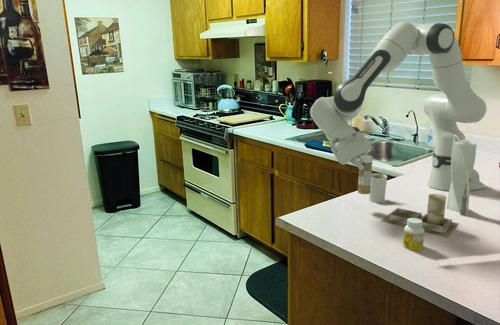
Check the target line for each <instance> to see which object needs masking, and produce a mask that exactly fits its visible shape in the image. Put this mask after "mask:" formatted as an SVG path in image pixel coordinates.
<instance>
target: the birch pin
mask: <svg viewBox="0 0 500 325" xmlns="http://www.w3.org/2000/svg"><path fill="white" fill-rule="evenodd" d="M446 201H447V196H445V195H444V194H441V193H430V194H429V195H428V201H427V211H426V214H427V220H426V223H429V224H433V225H438V226H442V227H443V223H444V218H445V212H446V205H447V202H446Z"/></svg>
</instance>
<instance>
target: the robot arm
mask: <svg viewBox="0 0 500 325" xmlns="http://www.w3.org/2000/svg"><path fill="white" fill-rule="evenodd" d="M408 55H419V56H421V55H423V56H424V55H429V60H430V68H431V75H432V78H433V80H432V81H433V84H434V86H435V87H436V88H437V89H439V90H440V91H441V92H442V93H441V92H440V93H434V94H430V95H429V96H428V97H426V98H425V101H424V104H423V112H424V113H425V115H426V116H427V117H428V118H429V120H430V121H431V123H432V126H433V129H434V137H435V140H434V152H433V153H432V167H431V172H430V176H429V178H428V181H427V186H428V187H431V188H433V189H435V190H441V191H445V192H447V191H448V192H449V190H450V185H451V181H452V179H451V155H452V147H453V136H454V135H456V136H458V138H459V139H460V140H466V135H465V134H464V133H463V132H462V131H461V130H460V129H459V127H458V125H457V123H461V124H470V123H471V124H472V123H473V124H475V123H478V122H480V121H481V120H483V119H484V117H485V115H486V113H487V103H486V102H485V100H484V99H483V98H482V97H480V96H478V94H476V93H475V92H474V90H473V89H472V87H471V86H470V84H469V83H468V80H467V77H466V75H465V70H464V63H463V55H462V51H461V48H460V45H459V41H458V39H457V36H455V33H454V30H453V29H452V27H451V26H450V25H449V24H446V23H443V22H437V23H422V24H418V25H414V24H412V23H411V22H409V21H400V22H398V23H396V24H395V25H394V26H393V27H392V28H390V29H389V30H388V31H387V32H386V33H385V35H384V36H383V37H382V38H380V40H379V41H378V43H377V44H376V45H375V47H374V48H373V50H372V51H371V53H370V55H369V57H368V58H367V60H366V61H365V62H364V63H363V64H362V65H361V67H360V68H359V69H358V70H357V71H356V73H355V74H354V75H353V76H352V77H350V78H349V79H348V80H345V81H344V82H342V83H340V84H339V85H337V87H336V88H335V90H334V93H333V96H328V97H325V96H321V97H319V98H317V99H316V100H314V102H313V104H312V105H311V107H310V110H309V114H310V117H311V119H312V120H313V122H314V123H315V125H316V126H317V127H318V129H319V130H320V131H322V132H323V133H324V134H325V136H326V138H327V140H328V141H329V147H330V148H331V152H332V154H333V155H334V157H335V158H336V160H337V161H338V163H339V164H341V165H342V166H344V165H347V164H348V163H351V164H352V165H353V166H355V167H357V168H358V170H359V169H360V170H363V169H364V168H365V167H366V166H365V165H364V164H363V163H361V162H360V161H359V156H361V155H369V153H370V152H371V151H373V147H372V144H371V143H370V141H369V140H368V139H367V137H366V136H365V135H364V134H363V133H361V132H362V131H361V129H360V128H359V127H357V126H352V125H351V124H350V125H349V123H348V122H349V121H351V120H353V119H355V118H356V117H358V115H359V114H360V112H361V110H362V107H363V102H364V100H365V96H366V92H367V90H368V88H369V87H370V86H371V85H372V84H373V82H375V80H377V78H378V76H380V75H381V73H384V74H385V73H392V72H393V71H394V70H395V69H397V67H399V66H400V64H402V62H403V61H404V60H405V59H406V57H407V56H408ZM456 136H455V142H459V141H458V138H457V137H456ZM480 181H481V180H480V174H479V172H478V170H476V169H475V168H473V171H472V174H471V176H470V179H469V192H470V191H477V190H478V191H479V190H483V189H486V185H485V184H484V183H482V182H480Z"/></svg>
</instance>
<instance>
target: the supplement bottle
mask: <svg viewBox="0 0 500 325" xmlns="http://www.w3.org/2000/svg"><path fill="white" fill-rule="evenodd" d="M403 228H404V229H403V239H402V240H403V241H402V246H403V248H405V249H406V250H409V251H413V252H420V251H422V250H423V248H424V241H425V232H424V229H423V227H422V220H420V219H418V218H408V219H407V225H406V226H405V227H403Z"/></svg>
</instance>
